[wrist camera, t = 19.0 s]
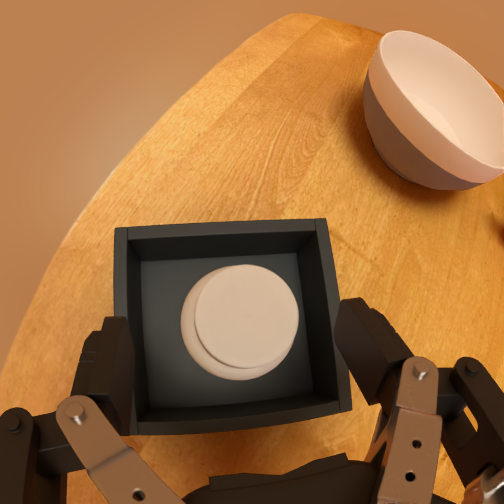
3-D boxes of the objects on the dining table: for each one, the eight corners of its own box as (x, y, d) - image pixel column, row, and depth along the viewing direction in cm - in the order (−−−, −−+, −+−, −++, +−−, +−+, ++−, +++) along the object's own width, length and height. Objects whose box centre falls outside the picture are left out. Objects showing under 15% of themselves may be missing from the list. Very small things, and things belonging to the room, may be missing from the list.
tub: (142, 417, 19) (124, 435, 14) (132, 254, 23) (114, 227, 18) (321, 399, 21) (352, 410, 16) (301, 245, 25) (326, 217, 20)
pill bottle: (238, 276, 22) (264, 221, 13) (283, 341, 21) (342, 331, 12) (171, 319, 21) (147, 293, 12) (217, 387, 20) (228, 414, 11)
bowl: (476, 163, 32) (525, 121, 23) (433, 249, 27) (506, 208, 18) (381, 74, 33) (414, 19, 24) (307, 131, 28) (343, 54, 19)
